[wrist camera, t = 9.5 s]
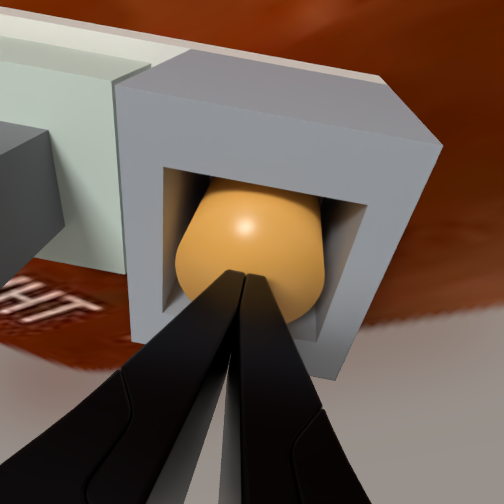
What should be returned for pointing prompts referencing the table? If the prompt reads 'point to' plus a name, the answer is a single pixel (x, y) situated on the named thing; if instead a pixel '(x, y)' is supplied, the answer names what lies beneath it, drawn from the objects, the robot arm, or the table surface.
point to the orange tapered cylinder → (255, 242)
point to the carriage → (60, 157)
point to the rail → (254, 164)
